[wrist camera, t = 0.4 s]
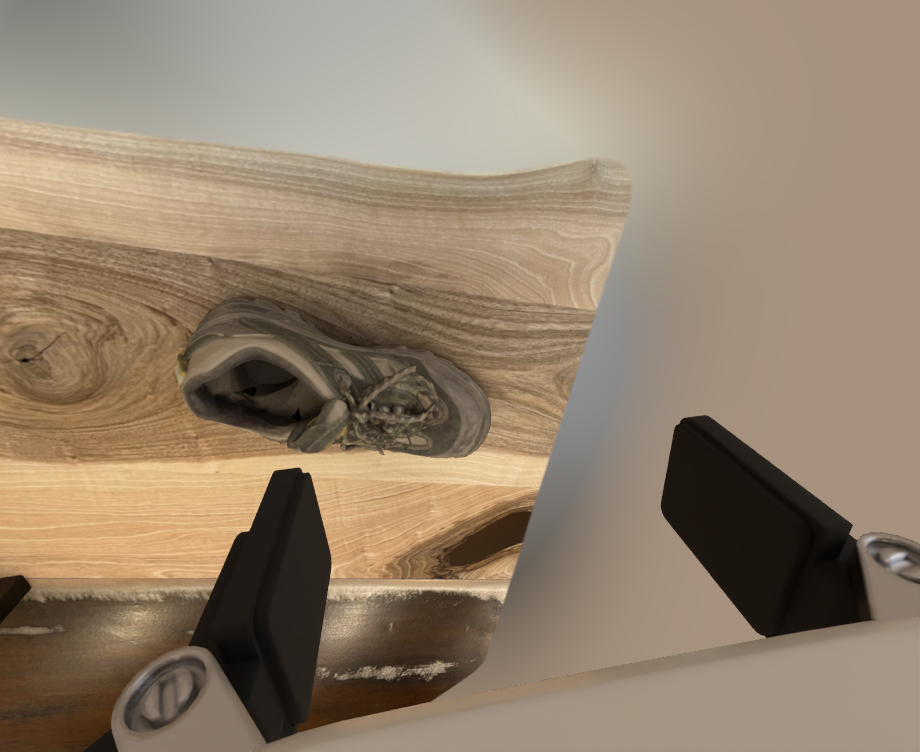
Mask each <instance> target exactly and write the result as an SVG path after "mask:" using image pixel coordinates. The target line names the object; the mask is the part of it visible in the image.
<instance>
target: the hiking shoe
mask: <svg viewBox="0 0 920 752" xmlns="http://www.w3.org/2000/svg"><path fill="white" fill-rule="evenodd" d="M185 351H186V352H185V354H184V355H181V354H179V355H178V359H177V363H176V366H175V370H174V377H175V379H176V382H177V384H178V386H179V387H181V391H182V397H183V399H184V401H185V403H186V405H187V407H188V409H189V411H190V412H192V413H193V414H194V415H196V416H197V417H200V418H202V419H205V420H211V421H214V422H217V423H219V424H222V425H226V426H229V427H233V428H237V429H240V430H244V431H247V432H251V433H254V434H258V435H260V436H262V437H264V438H267V439H269V440H273V441H277V442H279V443H280V444H282V443H287V446H288V448H290V449H292V450H294V451H296V452H303V453H317V452H320V451H322V450H324V449H326V448H328V447H330V445H331V444H335V443H342V444H341V445H340V448H341V449H342V450H343V451H348V450H351V449H353V448H360V449H368V450H373V451H375V450H378V451H379V452H380V454H382V455H384V453H383V451H382V450H389V451H392V452H403V453H408V454H413V455H419V456H426V457H432V458H450V457H454V458H458V457H466V456H468V455H470V454H471V453H473V452H474V451H476V450H477V449H478V448H479V447H480V445H481V444H482V443H483V442H484V440H485V438H486V436H487V434H488V431H489V429H490V423H491V410H490V404H489V401H488V398H487V396H486V395H485V393H484V392H483V390H482V389H481V387H479V386H478V385H477V384H476V383H475V382H474V380H473V379H471V378H470V377H469V376H468V375H467V374H466V373H464V372H463V371H461V370H459V369H457V368H456V367H455V366H454V364H453V363H451V362H450V361H448V360H446V359H444V358H440V357H436V356H434V355H433V353H432V352H430V351H427V350H423V349H408V348H407V347H405V346H404V345H394V344H392V345H389V346H384V347H383V346H381V345H368V346H365V347H358V346H353V345H349V344H345V343H341V342H338V341H336V340H334V339H332V338H330V337H328V336H327V335H325V334H324V333H322V332H321V331H319V330H318V329H317V328H316V327H315V324H314V323H312V322H310V321H308V320H307V321H305V322H304V321H303V320H302V319H301V317H300V316H299V314H298V313H296V312H294V311H291V310H288V309H284V310H281V309H280V308H279V307H278V306H276V305H275V304H273V303H271V302H269V301H265V300H261V299H255V300H253V301H250V300H247V299H243V298H234V299H231V300H228V301H225V302H223V303H222V304H220V305H218V306H217V307H215V308H214V309H212V310H211V311H209V312H208V314H207V315H206V316H205V317H204V318H203V320H202V321H201V322H200V323H199V325H198V327H197V329H196V331H195V332H194V333H193V334H192V335H191V338H190V340H189V343H188V345H187V347H186V350H185ZM346 444H349V445H346ZM360 445H362V446H360ZM367 446H368V447H367ZM369 447H371V448H369Z"/></svg>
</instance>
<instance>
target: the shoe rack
mask: <svg viewBox="0 0 920 752" xmlns="http://www.w3.org/2000/svg"><path fill="white" fill-rule="evenodd" d="M30 589H31V587H30V586H29V584H28V583H27V582H26V580H25V579H24V578H23V576H15V577H8V578H1V579H0V624H1V623H2V621H3V620H4V619H5V618H6V617H7V616H8V614H9V613H10V612H11V611H12V610H13V609H14V607H15V606H16V605H17V604H18V603H19V602H20V600H21V599H22V598H23V597H24V596H25V595H26V593H27V592H28V591H29V590H30Z"/></svg>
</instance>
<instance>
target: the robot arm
mask: <svg viewBox="0 0 920 752" xmlns="http://www.w3.org/2000/svg"><path fill="white" fill-rule="evenodd" d="M661 510H662V513H663V515H664V517H665V519H666V520H667V521H668V522H669V524H670V525H671V526H672V528H673V529H674V530H675V531H676V532H677V534H678V535H679V536H680V538H681V539H682V540H683V541H684V543H685V544H686V545H687V546H688V548H689V549H690V550H691V551H692V552H693V554H694V555H695V556H696V558H697V559H698V560H699V561H700V563H701V564H702V565H703V566H704V567H705V569H706V570H707V571H708V573H709V574H710V575H711V576H712V578H713V579H714V580H715V581H716V583H717V584H718V585H719V586H720V588H721V589H722V590H723V591H724V592H725V594H726V595H727V596H728V598H729V599H730V600H731V601H732V602H733V604H734V605H735V606H736V608H737V609H738V610H739V611H740V612H741V614H742V615H743V616H744V618H745V619H746V620H747V621H748V623H749V624H750V625H751V626H752V628H753V629H755V631H756V632H757V633H759V634H760V635H763V636H765V637H766V638H765V639H760V640H754V641H749V642H743V643H738V644H733V645H727V646H721V647H716V648H710V649H706V650H699V651H694V652H689V653H683V654H678V655H673V656H667V657H662V658H658V659H652V660H646V661H641V662H636V663H631V664H625V665H620V666H614V667H609V668H605V669H599V670H594V671H588V672H583V673H578V674H573V675H567V676H562V677H557V678H552V679H546V680H541V681H537V682H531V683H526V684H521V685H516V686H511V687H506V688H500V689H495V690H491V691H486V692H480V693H476V694H470V695H465V696H460V697H455V698H450V699H444V700H439V701H434V702H429V703H424V704H419V705H415V706H410V707H405V708H401V709H396V710H392V711H387V712H382V713H378V714H373V715H368V716H364V717H359V718H354V719H350V720H345V721H341V722H337V723H333V724H330V725H326V726H322V727H318V728H315V729H311V730H307V731H303V732H300V733H297V728H298V724H299V723H304V722H306V720H307V718H308V714H309V708H310V702H311V695H312V689H313V682H314V676H315V670H316V663H317V657H318V650H319V644H320V637H321V631H322V625H323V618H324V612H325V605H326V599H327V593H328V586H329V580H330V573H331V554H330V549H329V545H328V541H327V538H326V534H325V530H324V526H323V522H322V518H321V514H320V510H319V506H318V502H317V498H316V494H315V490H314V486H313V482H312V478H311V475H310V473H303V472H302V470H301V468H292V469H284V470H276V471H274V473H273V474H272V477H271V479H270V482H269V484H268V487H267V489H266V492H265V494H264V497H263V499H262V502H261V504H260V506H259V509H258V511H257V514H256V516H255V519H254V521H253V524H252V526H251V529H250V531H248V532H241V533H240V534H239V535H237V537H236V539H235V540H234V542H233V545H232V547H231V549H230V552H229V554H228V556H227V559H226V561H225V563H224V565H223V568H222V570H221V572H220V575H219V577H218V579H217V582H216V584H215V586H214V589H213V591H212V593H211V595H210V598H209V600H208V602H207V605H206V607H205V609H204V612H203V614H202V616H201V618H200V621H199V623H198V625H197V628H196V630H195V632H194V635H193V637H192V639H191V642H190V644H189V646H188V647H181V648H178V649H176V650H173V651H170V652H167V653H166V654H164V655H162V656H160V657H159V658H157V659H155V660H153V661H152V662H151V663H150V664H148V665H147V666H146V667H145V668H143V669H142V670H141V671H140V672H139V673H137V675H136V676H135V677H134V678H133V679H132V680H131V681H130V683H129V684H128V685H127V686H126V687H125V689H124V690H123V692H122V694H121V695H120V697H119V699H118V700H117V702H116V704H115V707H114V710H113V714H112V717H111V726H112V729H110V730H109V731H108V732H107V733H105V734H104V735H103V736H102V737H101V738H99V739H98V740H97V741H96V742H94V743H93V744H92V745H91V746H89V747H88V748H87V749H86V750H85V751H83V752H920V544H919V543H917V542H915V541H912V540H909V539H907V538H904V537H901V536H898V535H893V534H888V533H881V532H880V533H878V532H871V533H867V534H863V535H862V536H861V537H860V538H858V540H856V539H854V538H853V537H852V536H851V535H849V533H850V531H851V528H852V526H853V525H852V524H851V523H850V522H848V521H847V520H845V519H844V518H843V517H842V516H840V515H839V514H838V513H836V512H835V511H834V510H832V509H831V508H830V507H828V506H827V505H826V504H825V503H823V502H822V501H821V500H819V499H818V498H817V497H815V496H814V495H813V494H811V493H810V492H808V491H807V490H806V489H804V488H803V487H802V486H801V485H799V484H798V483H797V482H795V481H794V480H793V479H791V478H790V477H789V476H787V475H786V474H785V473H784V472H782V471H781V470H780V469H778V468H777V467H776V466H774V465H773V464H771V463H770V462H769V461H768V460H766V459H765V458H764V457H762V456H761V455H759V454H758V453H757V452H756V451H754V450H753V449H752V448H750V447H749V446H748V445H746V444H745V443H744V442H742V441H741V440H740V439H738V438H737V437H736V436H735V435H733V434H732V433H731V432H729V431H728V430H726V429H725V428H724V427H723V426H721V425H720V424H719V423H717V422H716V421H715V420H713V419H712V418H711V417H709V416H705V415H703V416H695V417H688V418H684V419H682V420H681V421H680V424H678V425H676V427H675V429H674V434H673V440H672V446H671V451H670V456H669V462H668V468H667V473H666V479H665V484H664V489H663V495H662V501H661Z"/></svg>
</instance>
